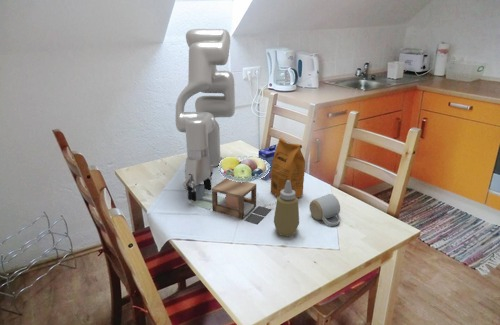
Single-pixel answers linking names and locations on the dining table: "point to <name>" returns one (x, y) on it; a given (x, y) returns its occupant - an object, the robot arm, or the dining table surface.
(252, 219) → the pit pads
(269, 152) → the ink cartridge box
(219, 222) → the dining table surface
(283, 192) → the squeeze bottle
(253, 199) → the tunnel
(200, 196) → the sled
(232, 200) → the block
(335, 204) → the ceramic mug
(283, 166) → the coffee package
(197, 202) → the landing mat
